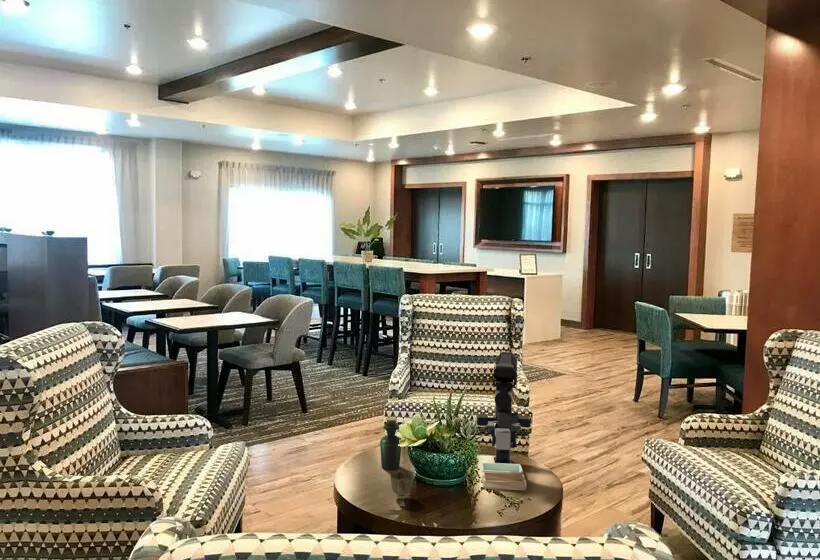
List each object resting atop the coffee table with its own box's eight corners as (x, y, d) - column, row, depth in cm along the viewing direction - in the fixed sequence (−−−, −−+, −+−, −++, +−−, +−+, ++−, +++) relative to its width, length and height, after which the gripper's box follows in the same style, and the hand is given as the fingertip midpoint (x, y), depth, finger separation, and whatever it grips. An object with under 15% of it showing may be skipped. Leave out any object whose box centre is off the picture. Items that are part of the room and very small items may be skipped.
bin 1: (480, 471, 230) (480, 462, 230) (519, 473, 229) (520, 464, 229) (481, 480, 222) (482, 470, 222) (522, 482, 221) (523, 472, 221)
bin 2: (482, 481, 221) (482, 471, 220) (523, 483, 220) (523, 473, 220) (483, 491, 212) (483, 480, 212) (526, 493, 211) (526, 482, 211)
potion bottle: (400, 463, 238) (401, 415, 237) (402, 470, 229) (403, 421, 228) (378, 463, 236) (379, 416, 235) (380, 471, 228) (381, 422, 227)
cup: (401, 492, 210) (402, 468, 209) (417, 498, 205) (418, 474, 204) (385, 498, 205) (385, 473, 204) (400, 505, 199) (401, 480, 199)
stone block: (494, 444, 228) (495, 428, 227) (508, 445, 227) (509, 428, 227) (495, 449, 223) (496, 432, 222) (510, 449, 222) (510, 433, 222)
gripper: (478, 406, 216) (477, 451, 217) (533, 408, 215) (531, 453, 216) (476, 397, 227) (475, 440, 228) (529, 399, 226) (527, 442, 227)
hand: (502, 444), depth 225 cm, fingers closed on stone block, 5 cm apart
